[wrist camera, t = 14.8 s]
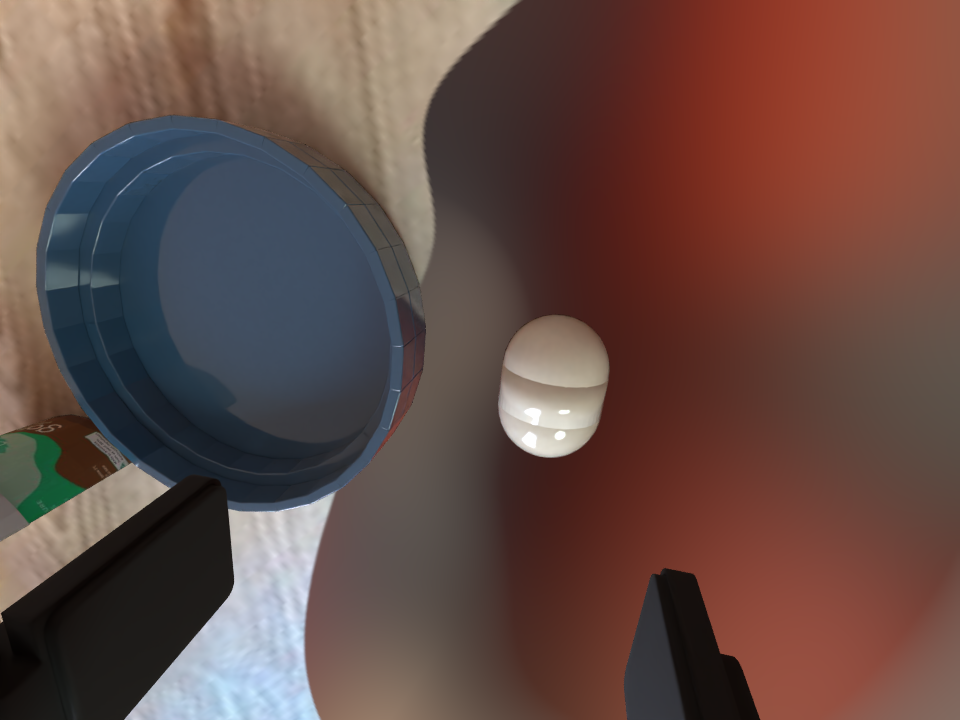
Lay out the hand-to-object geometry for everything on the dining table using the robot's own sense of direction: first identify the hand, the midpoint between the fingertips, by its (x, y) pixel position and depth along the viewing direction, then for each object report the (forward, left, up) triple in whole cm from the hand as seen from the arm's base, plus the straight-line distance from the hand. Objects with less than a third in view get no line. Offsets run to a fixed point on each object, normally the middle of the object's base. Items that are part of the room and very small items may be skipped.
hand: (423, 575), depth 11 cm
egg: (+1, +1, -17) cm, 17 cm away
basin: (+1, -15, -17) cm, 23 cm away
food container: (+12, -30, -17) cm, 36 cm away
